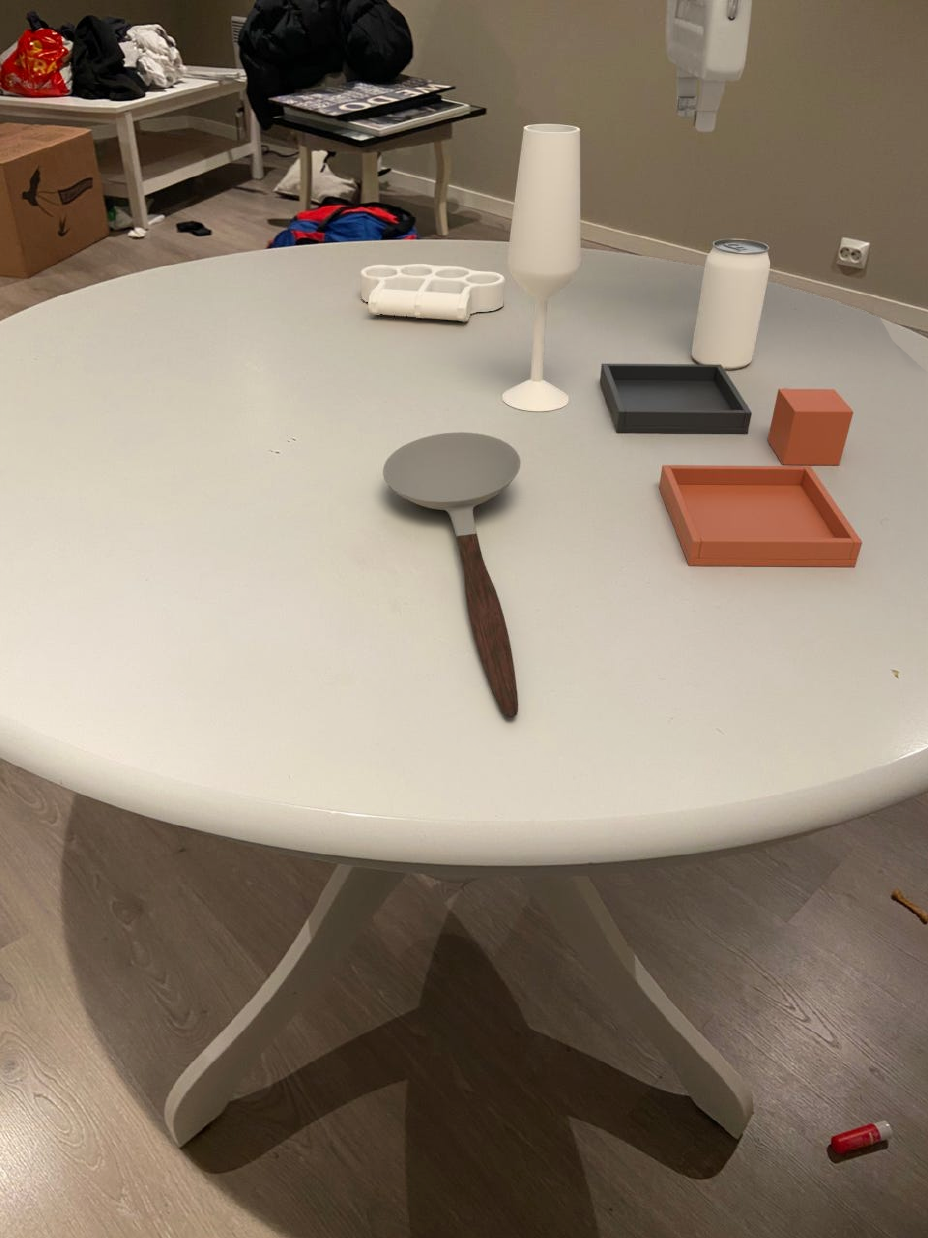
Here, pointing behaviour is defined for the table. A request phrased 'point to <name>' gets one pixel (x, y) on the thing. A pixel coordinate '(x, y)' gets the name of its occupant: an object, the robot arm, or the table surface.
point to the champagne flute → (545, 242)
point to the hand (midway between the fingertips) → (693, 123)
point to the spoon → (465, 528)
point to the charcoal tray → (673, 399)
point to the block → (809, 426)
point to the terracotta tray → (756, 517)
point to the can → (731, 303)
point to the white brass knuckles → (430, 290)
